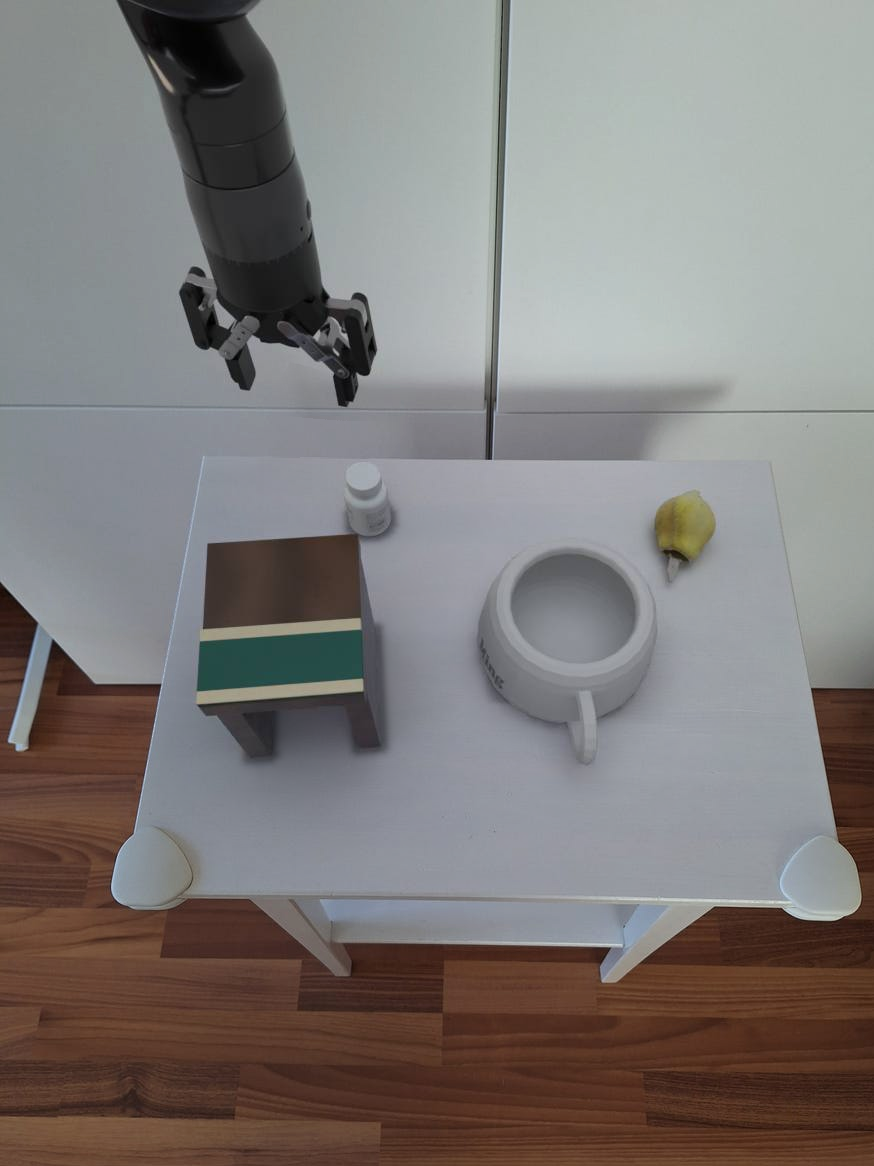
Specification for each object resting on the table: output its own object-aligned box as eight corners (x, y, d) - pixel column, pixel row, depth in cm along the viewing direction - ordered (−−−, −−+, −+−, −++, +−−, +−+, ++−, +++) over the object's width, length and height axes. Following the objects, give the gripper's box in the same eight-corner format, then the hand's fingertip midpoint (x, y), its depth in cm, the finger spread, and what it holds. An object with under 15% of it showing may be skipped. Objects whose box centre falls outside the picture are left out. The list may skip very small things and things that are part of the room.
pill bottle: (397, 509, 84) (392, 464, 77) (381, 542, 83) (375, 499, 76) (359, 497, 85) (350, 451, 78) (342, 530, 83) (332, 486, 76)
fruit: (638, 581, 82) (649, 495, 85) (689, 596, 83) (698, 511, 86) (667, 563, 76) (678, 472, 79) (721, 579, 78) (730, 489, 81)
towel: (198, 707, 57) (195, 704, 57) (202, 633, 60) (199, 629, 59) (364, 694, 58) (363, 690, 58) (361, 621, 61) (360, 617, 60)
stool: (249, 768, 72) (198, 707, 57) (252, 630, 78) (207, 543, 63) (381, 757, 73) (364, 694, 58) (375, 621, 79) (357, 533, 64)
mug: (469, 581, 81) (471, 527, 72) (629, 571, 82) (652, 516, 73) (489, 786, 72) (494, 754, 63) (669, 772, 73) (699, 738, 64)
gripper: (130, 241, 52) (202, 411, 66) (343, 274, 51) (368, 439, 66) (170, 167, 55) (230, 346, 69) (371, 198, 54) (389, 371, 69)
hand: (297, 391), depth 68 cm, fingers open, 8 cm apart
